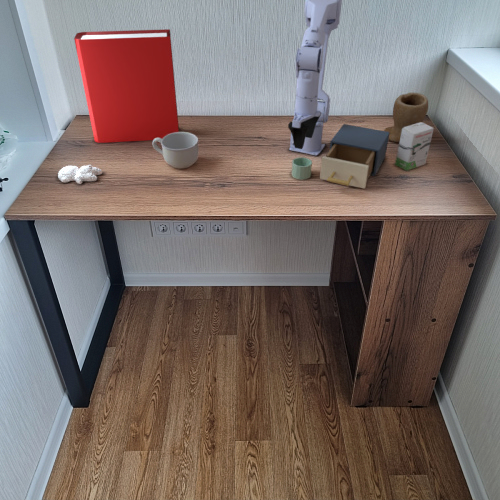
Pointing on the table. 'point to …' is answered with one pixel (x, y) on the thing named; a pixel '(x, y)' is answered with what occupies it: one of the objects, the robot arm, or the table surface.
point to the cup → (301, 168)
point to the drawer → (347, 165)
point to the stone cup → (407, 113)
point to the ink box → (414, 146)
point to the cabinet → (363, 141)
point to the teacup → (178, 149)
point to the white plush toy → (79, 173)
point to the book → (128, 84)
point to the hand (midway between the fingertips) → (303, 142)
